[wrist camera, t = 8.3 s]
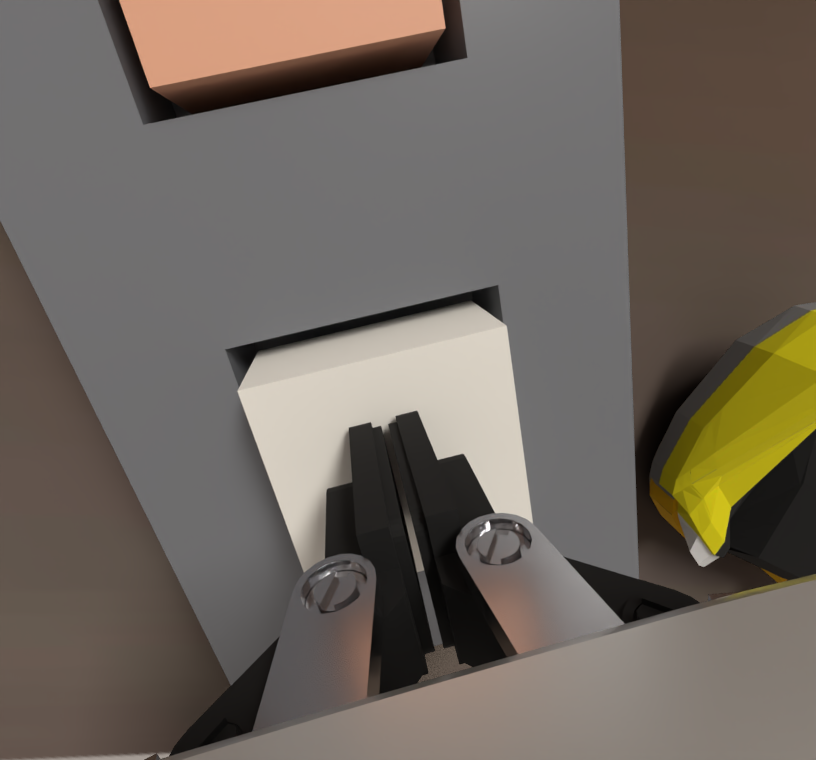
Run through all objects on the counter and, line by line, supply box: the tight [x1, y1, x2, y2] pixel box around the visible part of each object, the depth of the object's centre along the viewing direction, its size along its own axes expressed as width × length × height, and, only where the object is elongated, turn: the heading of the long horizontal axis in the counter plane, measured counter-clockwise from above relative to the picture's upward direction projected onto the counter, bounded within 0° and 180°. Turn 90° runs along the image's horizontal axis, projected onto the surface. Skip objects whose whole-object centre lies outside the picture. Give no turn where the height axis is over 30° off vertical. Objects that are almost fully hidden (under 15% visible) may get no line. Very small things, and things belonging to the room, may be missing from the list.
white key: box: [237, 301, 533, 573], centre depth 13 cm, size 6×6×3 cm
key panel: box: [0, 0, 639, 685], centre depth 13 cm, size 14×28×4 cm, turn 12°
